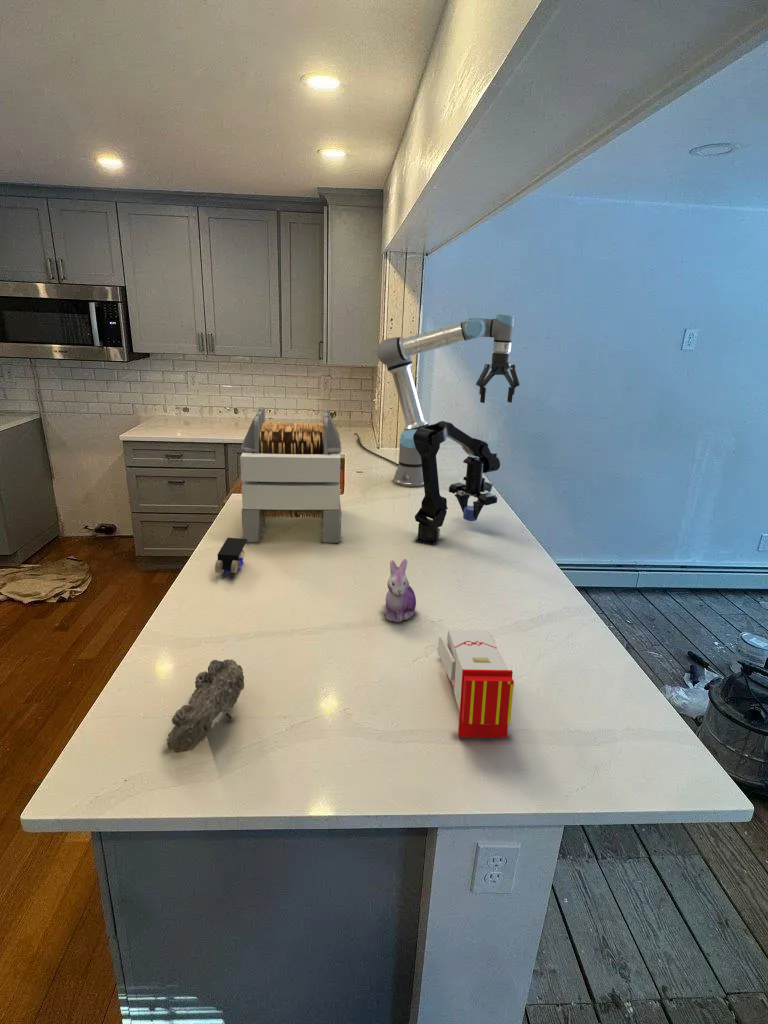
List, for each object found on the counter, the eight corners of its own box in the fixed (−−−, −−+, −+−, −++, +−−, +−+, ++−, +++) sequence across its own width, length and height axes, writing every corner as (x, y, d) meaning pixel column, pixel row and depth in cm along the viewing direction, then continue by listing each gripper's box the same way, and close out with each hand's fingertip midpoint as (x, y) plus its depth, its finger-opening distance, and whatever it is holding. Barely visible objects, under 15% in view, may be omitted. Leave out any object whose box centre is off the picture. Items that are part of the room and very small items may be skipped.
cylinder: (471, 522, 203) (472, 511, 202) (460, 518, 207) (461, 507, 205) (480, 519, 206) (481, 508, 205) (469, 515, 210) (470, 504, 208)
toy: (488, 613, 130) (523, 677, 101) (484, 667, 133) (517, 744, 104) (435, 612, 130) (455, 676, 101) (432, 666, 133) (451, 743, 103)
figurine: (392, 627, 141) (395, 572, 136) (374, 608, 149) (376, 556, 144) (425, 619, 145) (429, 566, 140) (405, 601, 154) (408, 550, 149)
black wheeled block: (238, 584, 162) (249, 557, 175) (236, 562, 158) (247, 536, 172) (215, 584, 161) (227, 556, 175) (212, 561, 158) (225, 535, 171)
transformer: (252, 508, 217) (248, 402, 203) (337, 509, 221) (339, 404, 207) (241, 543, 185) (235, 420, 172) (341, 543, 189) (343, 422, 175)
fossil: (192, 660, 117) (244, 628, 112) (224, 691, 120) (276, 661, 115) (142, 746, 98) (202, 712, 93) (182, 779, 101) (242, 748, 96)
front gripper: (509, 477, 199) (504, 519, 204) (470, 465, 212) (466, 504, 218) (488, 482, 192) (483, 525, 197) (449, 469, 206) (446, 510, 211)
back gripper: (479, 352, 236) (474, 404, 243) (531, 353, 244) (525, 403, 251) (471, 351, 242) (466, 401, 250) (522, 352, 250) (516, 400, 257)
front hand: (470, 515), depth 206 cm, fingers closed on cylinder, 5 cm apart
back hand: (495, 402), depth 250 cm, fingers open, 13 cm apart
